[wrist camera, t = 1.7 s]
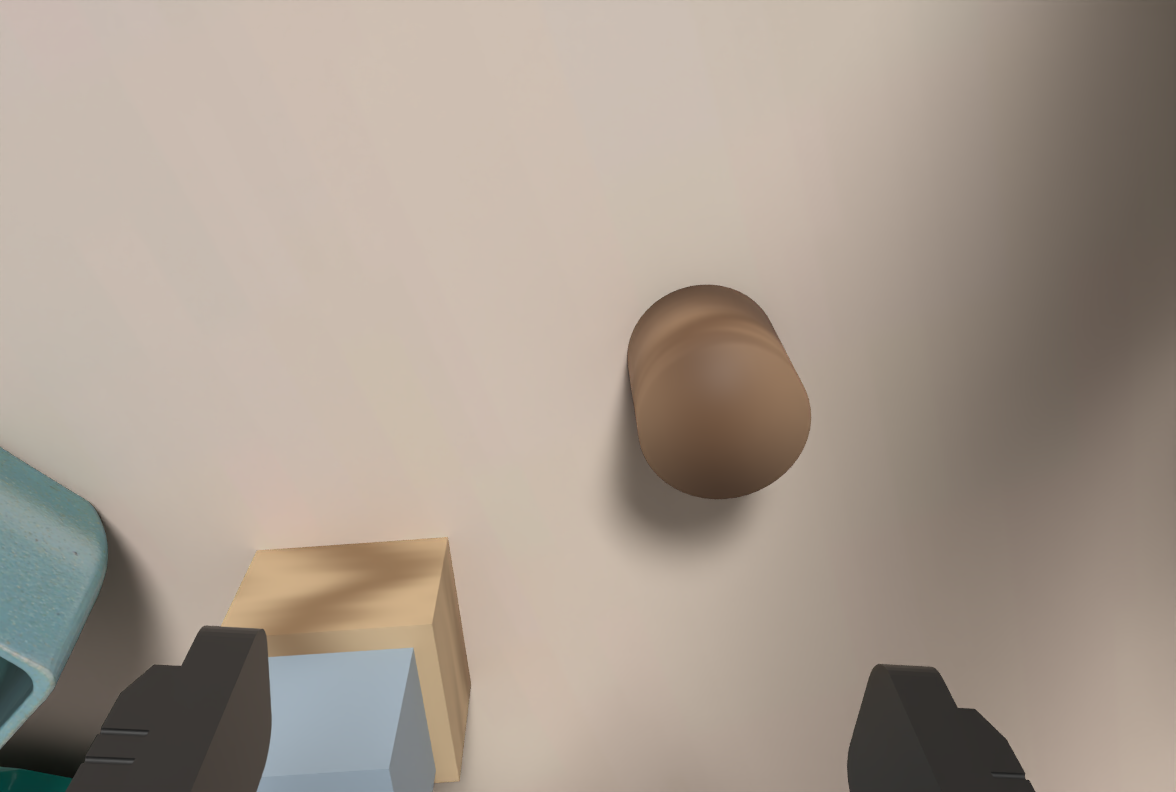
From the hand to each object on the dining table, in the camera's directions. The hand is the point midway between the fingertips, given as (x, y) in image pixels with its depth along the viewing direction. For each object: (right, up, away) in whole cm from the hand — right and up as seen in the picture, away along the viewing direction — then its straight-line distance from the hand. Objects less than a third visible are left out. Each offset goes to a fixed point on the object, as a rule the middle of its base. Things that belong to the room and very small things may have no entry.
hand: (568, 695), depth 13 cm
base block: (-8, -5, +24) cm, 26 cm away
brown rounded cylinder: (+4, +5, +20) cm, 21 cm away
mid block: (-8, -7, +20) cm, 22 cm away
